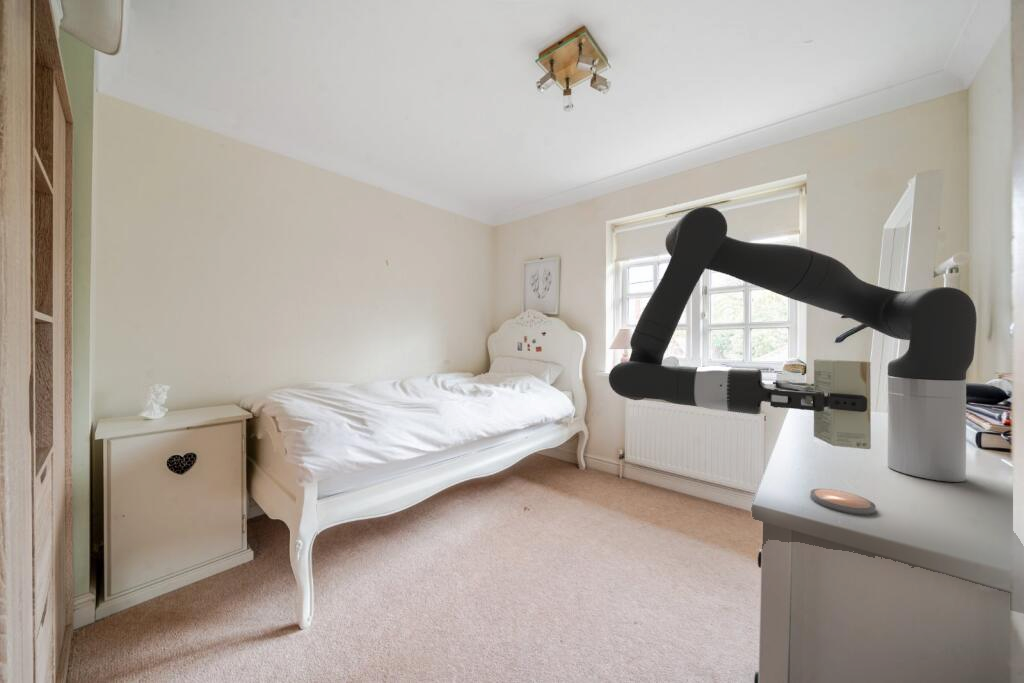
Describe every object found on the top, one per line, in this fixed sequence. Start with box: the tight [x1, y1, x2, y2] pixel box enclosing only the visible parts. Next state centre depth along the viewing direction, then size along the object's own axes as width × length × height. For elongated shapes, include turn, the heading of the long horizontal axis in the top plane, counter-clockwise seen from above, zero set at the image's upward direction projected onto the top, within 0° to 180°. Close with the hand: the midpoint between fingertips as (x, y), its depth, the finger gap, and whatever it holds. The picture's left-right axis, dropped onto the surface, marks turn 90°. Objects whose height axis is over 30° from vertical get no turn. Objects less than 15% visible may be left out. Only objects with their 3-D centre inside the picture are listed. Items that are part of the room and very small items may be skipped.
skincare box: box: [813, 358, 872, 450], centre depth 52 cm, size 6×4×12 cm
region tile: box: [809, 488, 877, 516], centre depth 52 cm, size 7×7×1 cm
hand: (861, 400), depth 50 cm, fingers closed on skincare box, 7 cm apart
